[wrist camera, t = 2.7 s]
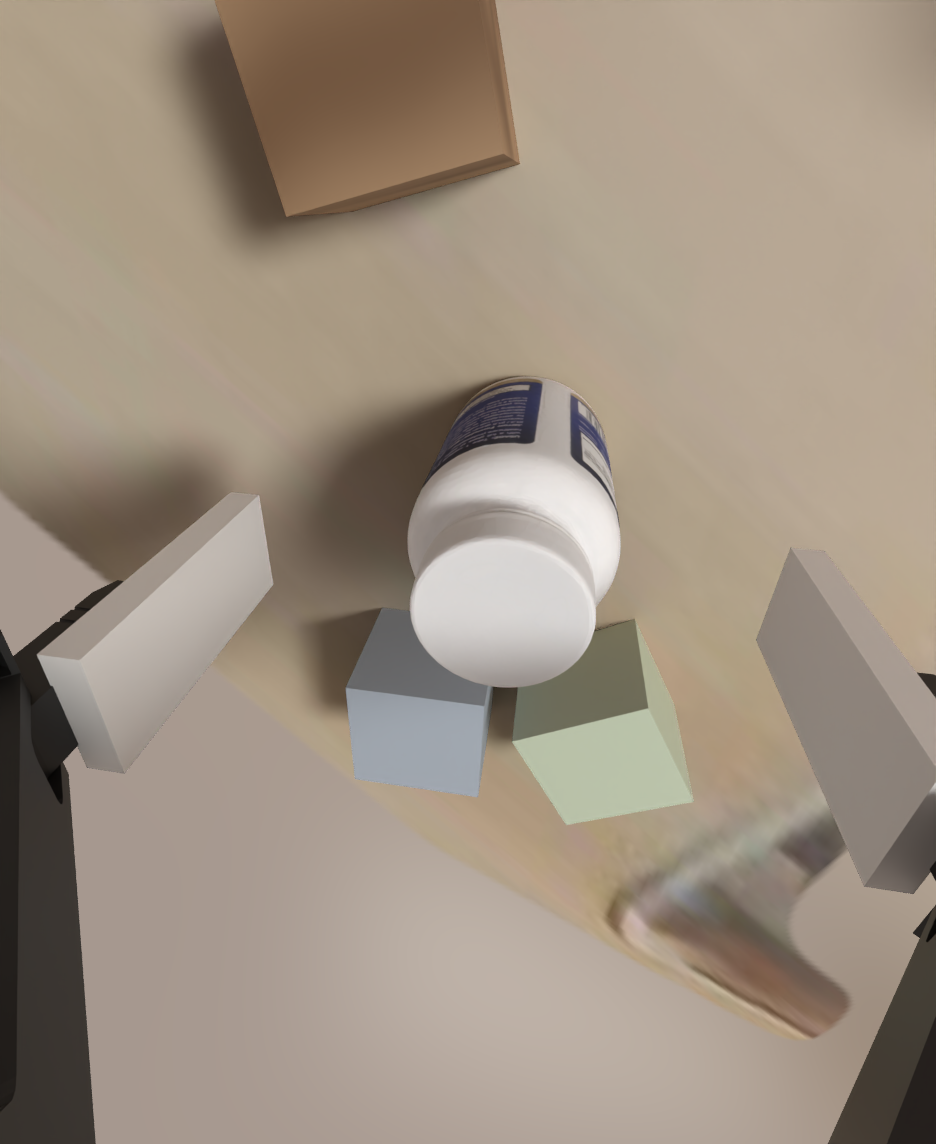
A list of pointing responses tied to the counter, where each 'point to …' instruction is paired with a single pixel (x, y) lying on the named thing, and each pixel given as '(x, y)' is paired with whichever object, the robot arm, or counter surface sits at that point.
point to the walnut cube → (372, 96)
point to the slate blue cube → (414, 714)
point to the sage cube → (604, 732)
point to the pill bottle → (514, 535)
